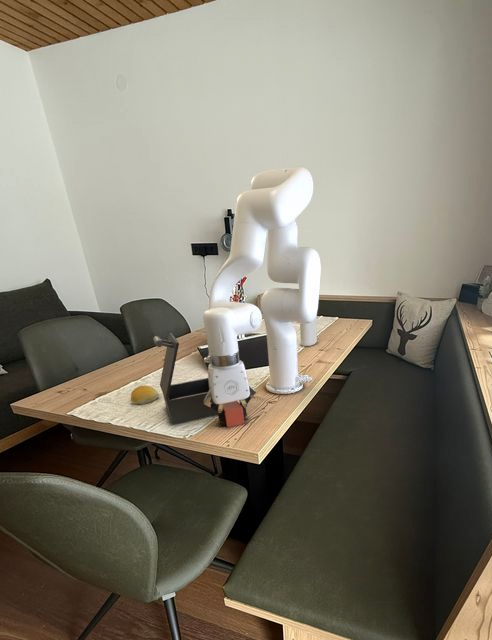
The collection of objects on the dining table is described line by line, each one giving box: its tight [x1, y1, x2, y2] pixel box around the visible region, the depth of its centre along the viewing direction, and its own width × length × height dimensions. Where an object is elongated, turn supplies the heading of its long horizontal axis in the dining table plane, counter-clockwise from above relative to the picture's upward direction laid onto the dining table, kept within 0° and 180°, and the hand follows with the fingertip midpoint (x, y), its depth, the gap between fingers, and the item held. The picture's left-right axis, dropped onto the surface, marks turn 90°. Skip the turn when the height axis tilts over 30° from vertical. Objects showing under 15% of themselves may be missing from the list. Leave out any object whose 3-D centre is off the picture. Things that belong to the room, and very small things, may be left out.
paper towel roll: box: [299, 313, 318, 347], centre depth 159 cm, size 7×6×21 cm
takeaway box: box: [162, 377, 218, 426], centre depth 107 cm, size 15×12×7 cm
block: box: [223, 401, 245, 428], centre depth 100 cm, size 5×5×5 cm
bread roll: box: [130, 385, 159, 405], centre depth 116 cm, size 8×9×4 cm
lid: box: [152, 332, 180, 401], centre depth 98 cm, size 16×12×5 cm
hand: (233, 420), depth 101 cm, fingers closed on block, 5 cm apart
